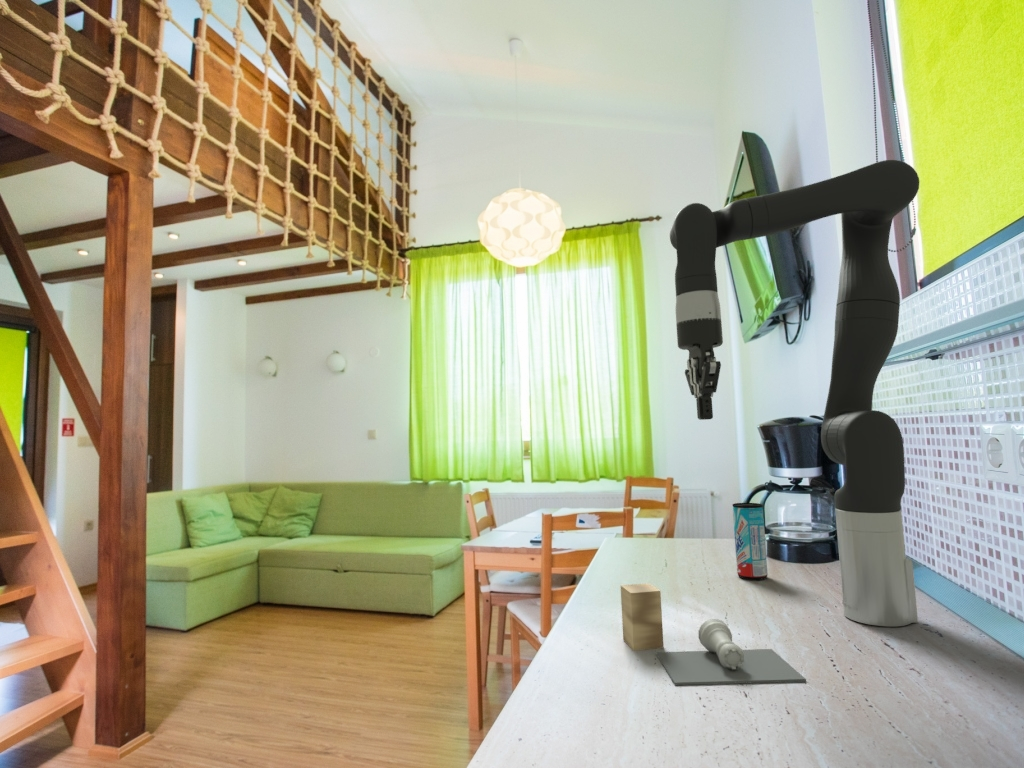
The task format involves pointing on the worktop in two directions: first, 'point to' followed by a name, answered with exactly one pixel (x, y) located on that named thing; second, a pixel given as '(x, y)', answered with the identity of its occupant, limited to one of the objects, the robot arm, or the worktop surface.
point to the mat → (710, 670)
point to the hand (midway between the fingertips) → (705, 419)
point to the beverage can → (750, 541)
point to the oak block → (642, 616)
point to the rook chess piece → (721, 643)
